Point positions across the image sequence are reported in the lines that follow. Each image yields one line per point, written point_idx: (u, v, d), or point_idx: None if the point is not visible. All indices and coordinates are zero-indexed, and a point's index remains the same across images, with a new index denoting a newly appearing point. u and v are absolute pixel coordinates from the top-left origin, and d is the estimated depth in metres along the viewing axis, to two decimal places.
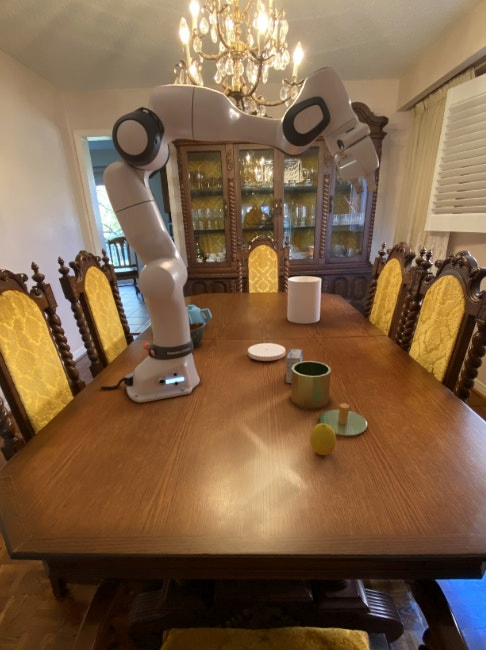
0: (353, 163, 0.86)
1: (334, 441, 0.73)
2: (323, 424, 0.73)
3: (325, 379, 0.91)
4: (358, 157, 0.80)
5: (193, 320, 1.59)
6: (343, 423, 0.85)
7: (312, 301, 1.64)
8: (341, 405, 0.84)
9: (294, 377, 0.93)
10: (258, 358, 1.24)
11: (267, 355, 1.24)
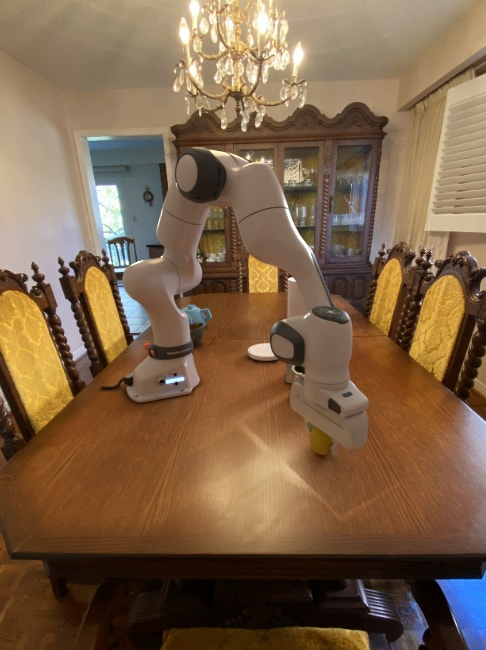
0: (331, 424, 0.68)
1: None
2: None
3: None
4: (353, 435, 0.63)
5: (193, 320, 1.59)
6: None
7: None
8: None
9: None
10: (258, 358, 1.24)
11: (267, 355, 1.24)
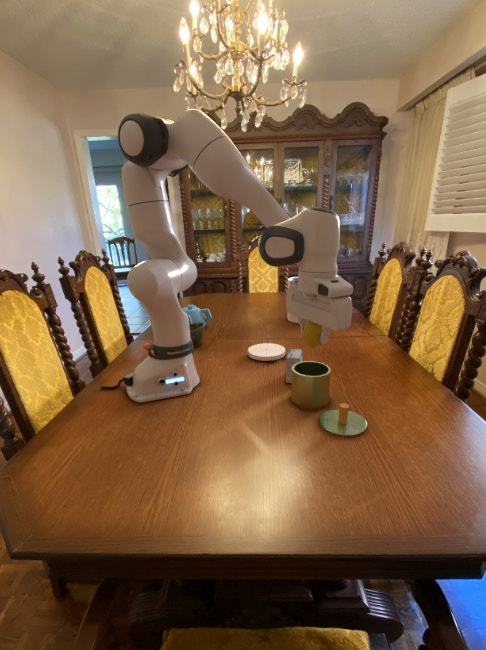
0: (321, 311, 0.78)
1: None
2: None
3: (325, 379, 0.91)
4: (338, 314, 0.74)
5: (193, 320, 1.59)
6: (343, 423, 0.85)
7: None
8: (341, 405, 0.84)
9: (294, 377, 0.93)
10: (258, 358, 1.24)
11: (267, 355, 1.24)
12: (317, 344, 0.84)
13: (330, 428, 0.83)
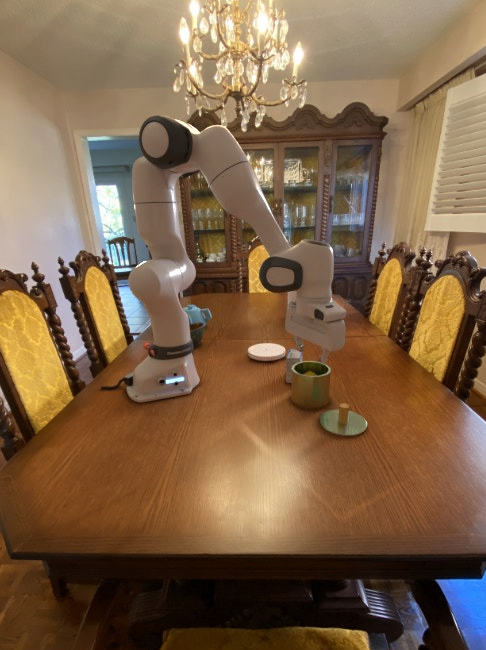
0: (317, 333, 0.86)
1: None
2: (309, 371, 0.96)
3: (325, 379, 0.91)
4: (333, 336, 0.81)
5: (193, 320, 1.59)
6: (343, 423, 0.85)
7: None
8: (341, 405, 0.84)
9: (294, 377, 0.93)
10: (258, 358, 1.24)
11: (267, 355, 1.24)
12: None
13: (330, 428, 0.83)
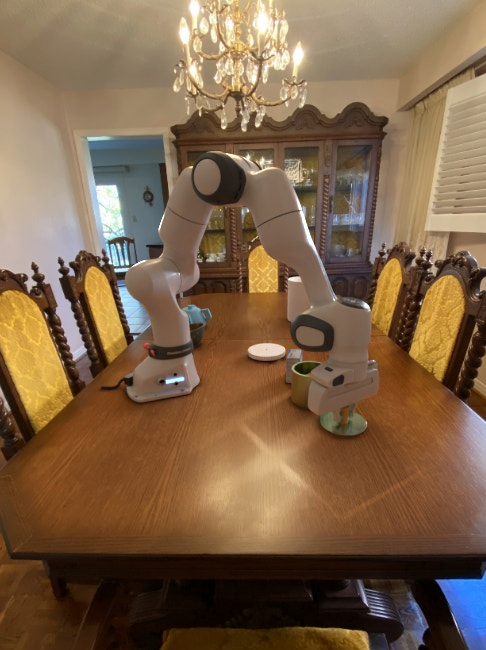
0: None
1: None
2: (310, 373, 0.95)
3: None
4: (308, 394, 0.79)
5: (193, 320, 1.59)
6: (343, 423, 0.85)
7: None
8: None
9: (294, 377, 0.93)
10: (258, 358, 1.24)
11: (267, 355, 1.24)
12: None
13: (330, 428, 0.83)
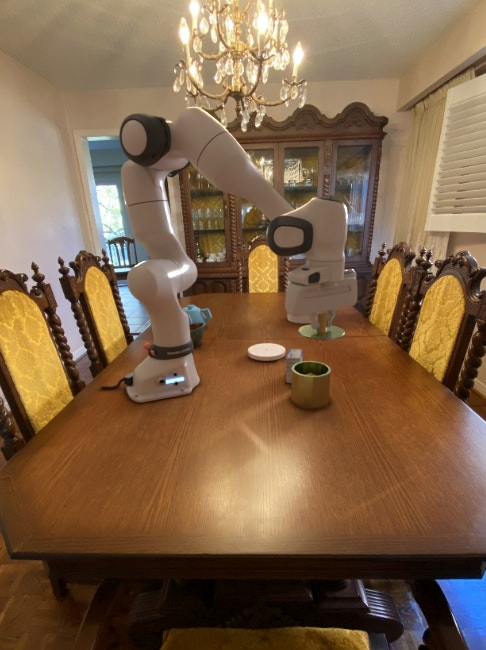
0: None
1: None
2: (310, 373, 0.95)
3: (325, 379, 0.91)
4: None
5: (193, 320, 1.59)
6: (321, 331, 0.86)
7: None
8: (319, 313, 0.85)
9: (294, 377, 0.93)
10: (258, 358, 1.24)
11: (267, 355, 1.24)
12: None
13: (308, 334, 0.84)
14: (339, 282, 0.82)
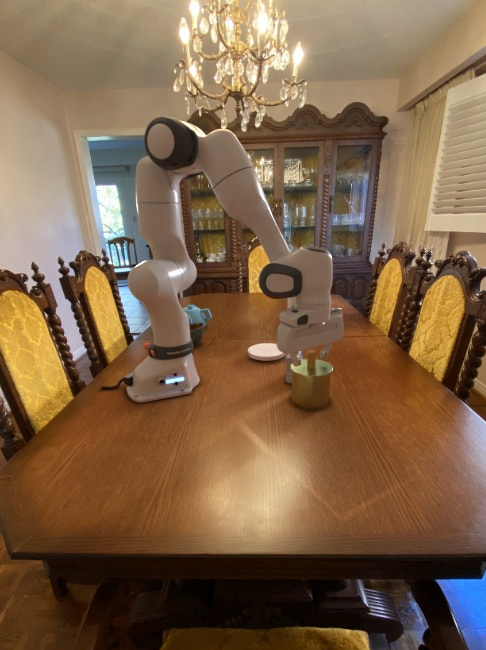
0: None
1: None
2: None
3: (325, 379, 0.91)
4: (277, 335, 0.87)
5: (193, 320, 1.59)
6: (311, 368, 0.93)
7: None
8: (309, 351, 0.93)
9: (294, 377, 0.93)
10: (258, 358, 1.24)
11: (267, 355, 1.24)
12: None
13: (299, 371, 0.92)
14: (326, 321, 0.90)
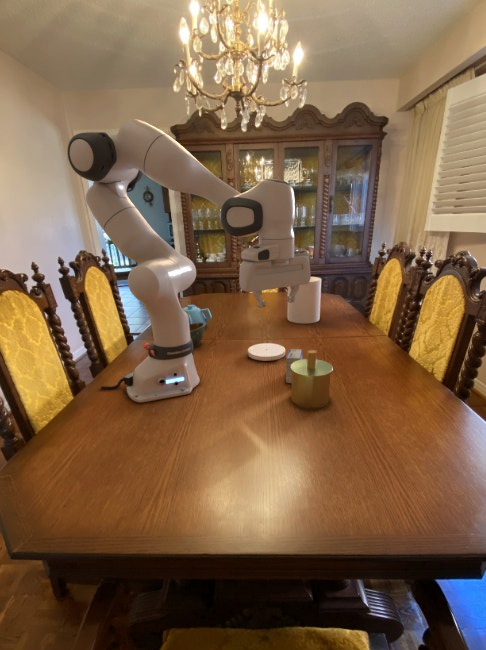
0: None
1: None
2: None
3: (325, 379, 0.91)
4: None
5: (193, 320, 1.59)
6: (311, 368, 0.93)
7: (312, 301, 1.64)
8: (309, 351, 0.93)
9: (294, 377, 0.93)
10: (258, 358, 1.24)
11: (267, 355, 1.24)
12: None
13: (299, 371, 0.92)
14: (291, 260, 0.88)
